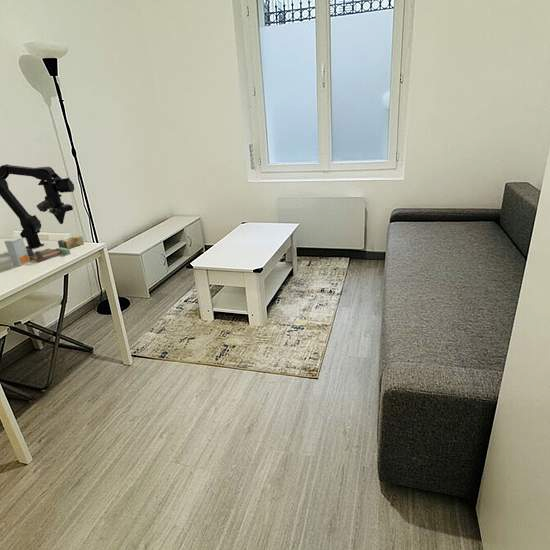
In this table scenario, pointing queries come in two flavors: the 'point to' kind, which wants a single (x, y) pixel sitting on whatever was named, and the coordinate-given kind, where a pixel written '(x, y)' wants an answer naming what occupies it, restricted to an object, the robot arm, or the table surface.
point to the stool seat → (43, 254)
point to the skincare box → (17, 251)
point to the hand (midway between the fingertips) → (61, 223)
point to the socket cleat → (64, 251)
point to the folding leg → (71, 242)
